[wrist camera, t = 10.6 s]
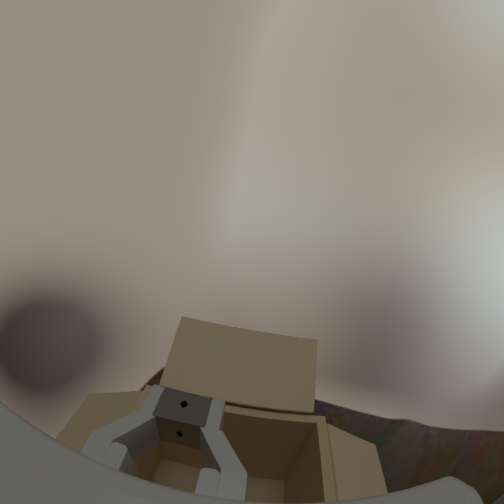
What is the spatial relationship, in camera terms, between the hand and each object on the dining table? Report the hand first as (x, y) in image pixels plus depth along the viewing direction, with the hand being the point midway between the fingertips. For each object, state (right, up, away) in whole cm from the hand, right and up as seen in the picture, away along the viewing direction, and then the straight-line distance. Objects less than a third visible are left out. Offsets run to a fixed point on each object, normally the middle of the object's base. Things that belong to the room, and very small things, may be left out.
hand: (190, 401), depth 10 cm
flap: (+2, -3, +12) cm, 12 cm away
